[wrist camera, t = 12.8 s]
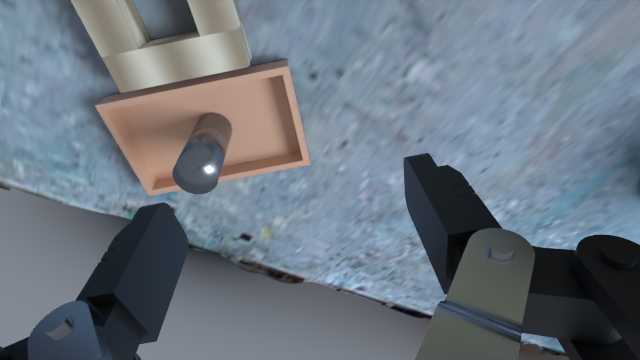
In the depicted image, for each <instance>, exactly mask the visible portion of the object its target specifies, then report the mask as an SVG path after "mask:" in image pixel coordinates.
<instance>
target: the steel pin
mask: <svg viewBox="0 0 640 360" xmlns="http://www.w3.org/2000/svg"><path fill="white" fill-rule="evenodd" d="M231 135H232V125H231V123H230V121H229V120H228V119H227V118H226V117H225V116H223V115H221V114H219V113H214V112H210V113H206V114H204V115H202V116H201V117H200V118H199V119H198V121H197V123H196V125H195V127H194V129H193V131H192V133H191V135H190V137H189V139H188V141H187V142H186V144H185V146H184V148H183V150H182V152H181V154H180V156H179V158H178V160H177V162H176V164H175V166H174V168H173V172H172V174H173V179H174V181H175V183H176V184H177V185H178V186H179V187H180V188H181V189H183V190H185V191H187V192H189V193H193V194H204V193H207V192H210V191H211V190H213V189H214V188H215V187H216V185H217V183H218V180H219V176H220V173H221V169H222V166H223V162H224V159H225V156H226V152H227V149H228V145H229V142H230V138H231Z"/></svg>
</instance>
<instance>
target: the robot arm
mask: <svg viewBox="0 0 640 360" xmlns="http://www.w3.org/2000/svg"><path fill="white" fill-rule="evenodd" d="M404 182H405V198H406V204H407V208H408V211H409V214H410V216H411V218H412V221H413V223H414V225H415V227H416V230H417V232H418V234H419V237H420V239H421V241H422V244H423V246H424V248H425V251H426V253H427V255H428V257H429V260H430V262H431V264H432V267H433V269H434V271H435V274H436V276H437V278H438V280H439V283H440V285H441V287H442V290H443V292H444V294H447V297H446V299H445V301H444V302H443V301H440V302H439V304H438V306H437V308H436V310H435V312H434V314H433V317H432V319H431V322H430V324H429V327H428V329H427V332H426V334H425V337H424V339H423V342H422V344H421V347H420V349H419V351H418V354H417V356H416V359H415V360H517V357H518V352H519V347H520V342H521V335H522V333H527V334H534V335H541V336H547V337H554V338H557V339H558V341H559V342H560V344H561V346H562V347H563V349H564V351H565V352H566V354H567V356H568V357H569V359H570V360H640V245H639V244H637V243H635V242H632V241H630V240H627V239H624V238H621V237H617V236H611V235H593V236H588V237H586V238H584V239H582V240H581V241H580V242H579V243H578V245H577V248H576V250H565V249H552V248H541V247H535V246H531V244H530V243H529V242H528V241H527V240H526V239H525V238H523V237H522V236H520V235H519V234H517V233H515V232H512V231H509V230H506V229H502V227H501V226H500V225H499V223H498V222H497V221H496V219H495V218H494V217H493V215H492V214H491V213H490V211H489V210H488V209H487V207H486V206H485V205H484V203H483V202H482V200H481V199H480V198H479V196H478V195H476V193H475V191H474V190H473V188H472V187H471V186H469V183H468V182H467V180H466V179H465V178H464V176H463V175H462V174H461V173H460V172H459V171H457V170H455V169H454V168H452V167H450V166H448V165H445V166H440V167H438V166H437V165H436V163H435V162H434V160H433V159H432V157H431V156H430V154H429V153H425V154H419V155H414V156H409V157H405V158H404ZM187 253H188V239H187V236H186V234H185V232H184V230H183V228H182V227H181V225H180V223H179V222H178V220H177V218H176V216H175V215H174V213H173V211H172V210H171V208H170V206H169V205H168V204H167V203H158V204H153V205H147V206H142V207H140V208H139V209H138V211H137V212H136V214H135V216H134V217H133V219H132V221H131V223H130V224H128V225H127V226H126V227H125V228H124V229H122V230H121V231H120V233H119V234H117V235H116V236H115V238H114V239H113V241H112V242H111V244H110V246H109V247H108V251H107V252H105V254H104V255H103V257H102V259H101V262H99V263H98V265H97V267H96V268H95V270H94V272H93V273H92V275H91V276H90V278H89V280H88V281H87V283H86V284H85V286H84V288H83V289H82V291H81V293H80V294H79V296H78V297H77V299H76V300H75V301H72V302H69V303H66V304H64V305H62V306H60V307H58V308H56V309H55V310H53V311H52V312H50V313H49V314H48V315H46V316H45V317H44V318H43V319H42V320H41V321H40V322H39V323H38V324H37V325H36V327H35V328H34V329H33V331H32V332H31V334H30V336H29V337H27V338H25V339H23V340H21V341H18V342H16V343H14V344H11V345H9V346H7V347H5V348H2V347H0V360H141V358H140V357H139V355H138V354H137V353H136V351H137V349H138V346H139V344H143V343H149V342H155V341H157V339H158V336H159V333H160V330H161V327H162V324H163V321H164V319H165V316H166V313H167V310H168V307H169V304H170V301H171V299H172V296H173V293H174V290H175V287H176V284H177V281H178V278H179V275H180V273H181V270H182V267H183V264H184V261H185V259H186V256H187Z"/></svg>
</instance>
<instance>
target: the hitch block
mask: <svg viewBox="0 0 640 360" xmlns="http://www.w3.org/2000/svg"><path fill="white" fill-rule="evenodd" d="M187 1H188V4H189V7H190V9H191V12H192V15H193V18H194V21H195V23H196V26H197V29H198V31H195V32H190V33H185V34H180V35H176V36H171V37H166V38H161V39H156V40H152V41H151V39H150V37H149V35H148V32H147V30H146V28H145V26H144V23H143V21H142V19H141V17H140V14H139V12H138V10H137V8H136V5H135V3H134V1H133V0H71V2H72V4H73V6H74V8H75V9H76V11H77V13H78V15H79V17H80V19H81V20H82V22H83V24H84V26H85V28H86V30H87V32H88V33H89V35H90V37H91V39H92V41H93V43H94V44H95V46H96V48H97V50H98V52H99V54H100V56H101V57H102V59H103V61H104V63H105V65H106V67H107V68H108V70H109V72H110V74H111V76H112V78H113V79H114V81H115V83H116V85H117V87H118V89H119V91H120V92H121V93H124V92H129V91H134V90H139V89H144V88H149V87H154V86H159V85H163V84H168V83H173V82H178V81H183V80H188V79H193V78H198V77H203V76H207V75H212V74H217V73H222V72H227V71H232V70H237V69H242V68H247V67H249V65H250V62H251V58H252V56H251V52H250V49H249V45H248V42H247V38H246V35H245V31H244V28H243V24H242V21H241V17H240V14H239V10H238V7H237V3H236V0H187Z"/></svg>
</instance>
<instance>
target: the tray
mask: <svg viewBox="0 0 640 360" xmlns="http://www.w3.org/2000/svg"><path fill="white" fill-rule="evenodd" d="M95 107H96V109H97V111H98V112H99V114H100V116H101V117H102V119H103V121H104V122H105V124H106V126H107V127H108V129H109V130H110V132H111V134H112V135H113V137H114V139H115V140H116V142H117V144H118V145H119V147H120V149H121V150H122V152H123V154H124V155H125V157H126V159H127V160H128V162H129V164H130V165H131V167H132V169H133V170H134V172H135V173H136V175H137V177H138V178H139V180H140V182H141V183H142V185H143V187H144V188H145V190H146V192H147V193H148V195H149V196H151V195H156V194H162V193H167V192H172V191H177V190H182V189H181V188H180V187H179V186H178V185H177V184H176V183H175V181H174V179H173V174H172V172H173V168H174V166H175V164H176V162H177V160H178V158H179V156H180V154H181V152H182V150H183V148H184V146H185V144H186V142H187V141H188V139H189V137H190V135H191V133H192V131H193V129H194V127H195V125H196V123H197V121H198V119H199V118H200V117H201V116H202V115H204V114H206V113H210V112H214V113H219V114H221V115H223V116H225V117H226V118H227V119H228V120H229V121H230V123H231V125H232V135H231V138H230V142H229V145H228V149H227V152H226V156H225V159H224V162H223V166H222V169H221V173H220V176H219V180H218V182H223V181H228V180H233V179H238V178H243V177H248V176H254V175H259V174H264V173H269V172H274V171H279V170H284V169H289V168H294V167H300V166H305V165H310V158H309V151H308V147H307V143H306V138H305V134H304V129H303V125H302V120H301V116H300V111H299V107H298V102H297V98H296V94H295V89H294V85H293V80H292V76H291V71H290V67H289V62H288V59H284V60H280V61H275V62H270V63H265V64H260V65H255V66H250V67H247V68H242V69H237V70H232V71H227V72H222V73H217V74H212V75H207V76H203V77H198V78H193V79H188V80H183V81H178V82H173V83H168V84H163V85H159V86H154V87H149V88H144V89H139V90H134V91H129V92H124V93H118V94H113V95H109V96H106V97H104V98H103V99H102V100H101V101H100V102H98V103H97V104H96V105H95Z"/></svg>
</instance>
